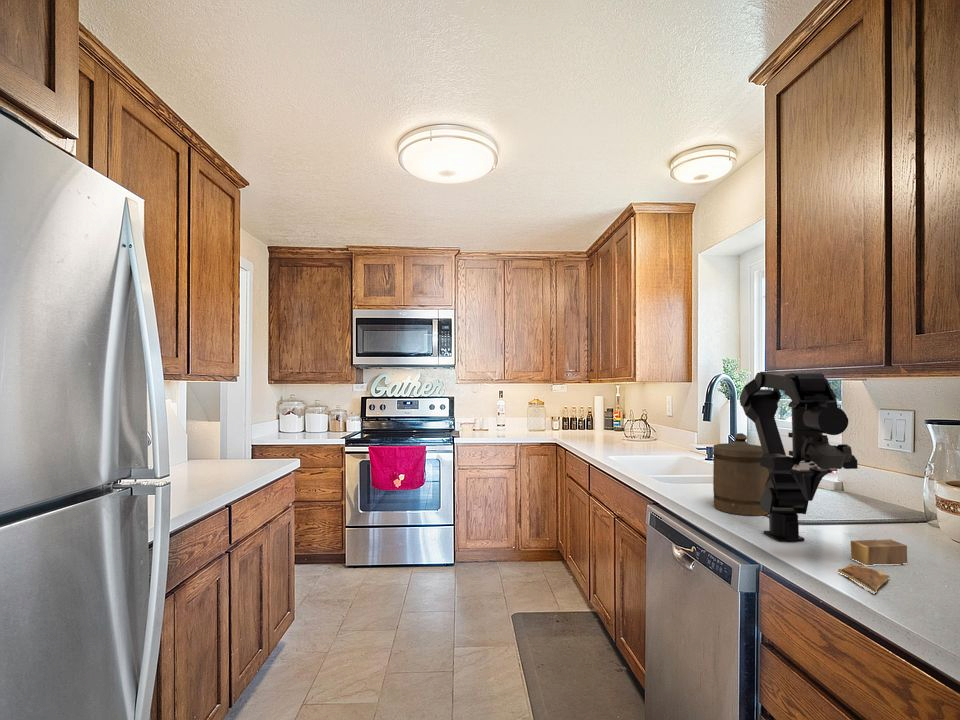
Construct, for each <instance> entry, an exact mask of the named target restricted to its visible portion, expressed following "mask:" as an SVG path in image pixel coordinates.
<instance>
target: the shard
mask: <svg viewBox="0 0 960 720" xmlns="http://www.w3.org/2000/svg"><path fill="white" fill-rule="evenodd" d="M837 572H840V573H842V574H844V575H846V576H848V577H849V578H851V579H853V580H855V581H856V582H858V583H860V584H862V585H863V586H865V587H867V588H869V589H871V590H872V591H874V592H876V591H877V589H878V588H879V586H880V587H881V586H883V585H884V582H885V583H886V582H887V580H888V581H889V579H890V574H889V575H888V574H886V573H884V572H882V571H880V570H877V569H874V568H870V567H866V566H863V565H858V564H853V563H852V564H849V565H847V566H846V567H843V568H838V570H837ZM888 578H889V579H888ZM879 589H880V588H879ZM879 589H878V590H879ZM877 592H878V591H877Z"/></svg>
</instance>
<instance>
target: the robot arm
mask: <svg viewBox="0 0 960 720" xmlns="http://www.w3.org/2000/svg"><path fill="white" fill-rule="evenodd" d="M762 388H765V389H762ZM766 388H767V389H766ZM772 389H773V390H772ZM781 391H784V393H783V394H784V395H785V396H787V397H789V398H790V402H789V403H788V407H789V408H791V432H788V436H787V437H788V438H792V439H791V440H792V450H788V455H787V453H786V450H785V447H784V444H783V440H782V438H781V435H780V432H779V429H778V424H777V421H776V418H775V415H776V413H777V411H778V408H779V402H780V400H781V398H782V394H781ZM739 404H740V406H741V407H742V410H743V412H744V415H745V416H746V417H747V418H748V419H749V420H751V421H752V422H753V423H754V425H755V430H756V433H757V437H758V439H759V443H760V446H761V447H762V451H763V455H762V456H761V458H760V466H762V467H766V468H767V469H768V472H769V476H768V479H767V481H766V484H765V489H766V490H765V492H764V494H763V495H762V497H761V499H760V505H761V509H762V510H764V511H766V512H767V513H769V514H768V521H769V522H768V523H769V530H764V531H763V534H765V535H767V536H768V537H771V538H772V539H773V540H776V541H778V542H796V541H800V542H801V541H805V540H806V539H805V537H803V536H801V535H800V534H799V533H800V530H799V529H800V528H799V527H800V525H799V524H800V523H799V515H806V514H807V511H808V507H809V502H812V501H813V500H814V497H815V495H816V493H817V489H818V487H819V486H820V483H821V481H822V479H823V478H824V477H825V476H827V475H828V474H832V473H833V470H832V469H837V470H841V469H844V470H853V469H854V470H858V464H859V463H858V459H857V458H856V456H855V455H853V451H852V447H851V446H850V445H848V444H847V443H843V444H841V443H839V444H837V445H833V444H830V442H829V437H828V436H829V435H830V436H836V435H840V434H842V433H844V431H846V429H847V428H848V425H849V418H848V416H847V414H846V413H845V411H844V410H843V409H841V408H840V407H838V401H837V394H836V393H835V392H834V390H833V388H832V387H831V385H830V383H829V381H828V379H827V378H826V377H825V374H823V372H790V373H782V372H778V371H760V372H756V374H755V377H754V378H753V379H752V380H751V381H749V382H748V383H746V384H745V385H744V386H743V388H742V390H741V393H740V396H739Z"/></svg>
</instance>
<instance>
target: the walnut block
mask: <svg viewBox="0 0 960 720" xmlns="http://www.w3.org/2000/svg"><path fill="white" fill-rule="evenodd" d="M851 558H852V559H854V560H857V561H859V562H861V563H863V564H865V565H873V564H903V563H907V564H908V545H906V544H903V543H901V542H899V541H896V540H893V539H890V538H889V539H867V540H866V539H865V540H864V539H863V540H859V539H858V540H850V559H851Z"/></svg>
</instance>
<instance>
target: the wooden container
mask: <svg viewBox="0 0 960 720" xmlns="http://www.w3.org/2000/svg"><path fill="white" fill-rule="evenodd" d="M733 438H734V441H733V442H732V443H729V442H728V443H717V444H714V445H713V448H712V450H713V460H712V461H713V464H712V465H713V466H712V467H713V470H712V471H713V474H712V475H713V476H712V477H713V478H712V479H713V481H712V482H713V483H712V485H713V491H712V492H713V506H714V508H715V509H716V510H718V511H720V512H723V513H727V514H731V515H740V516H746V517H747V516H749V517H757V516H759V517H760V516H767V515H769V514H768V513H767V512H766V511H764V510H762V509H761V505H760V499H761V497H762V495H763V494H764V492H765V490H766V489H765V484H766V481H767V479H768V476H769V472H768V469H767V468H766V467H762V466H760V458H761V456H762V455H763V451H762V447H761V445H759V444H750V443H748V442H747V441H746V440H747V439H748V436H747V435H746V434H744V433H741V432H740V433H736V434H734V436H733Z"/></svg>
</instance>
